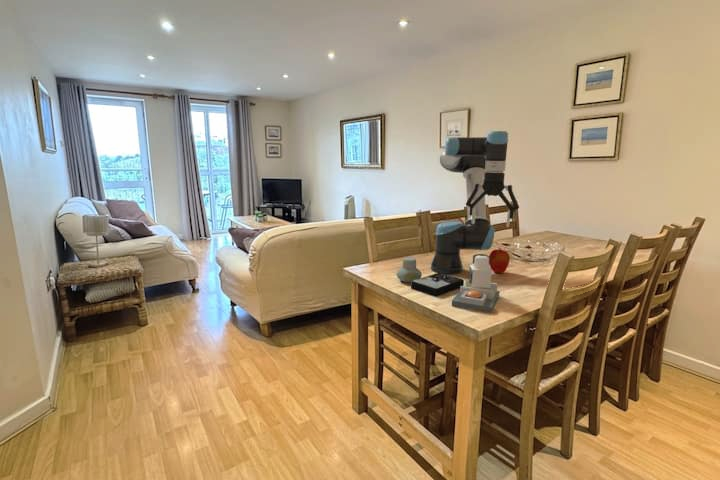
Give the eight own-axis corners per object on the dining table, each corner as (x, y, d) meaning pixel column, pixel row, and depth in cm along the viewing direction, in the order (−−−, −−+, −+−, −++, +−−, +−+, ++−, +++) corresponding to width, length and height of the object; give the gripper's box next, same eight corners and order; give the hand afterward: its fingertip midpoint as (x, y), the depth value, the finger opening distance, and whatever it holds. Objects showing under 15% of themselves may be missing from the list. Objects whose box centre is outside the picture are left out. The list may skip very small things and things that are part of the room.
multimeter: (464, 287, 159) (464, 276, 158) (435, 298, 146) (436, 285, 145) (438, 280, 169) (439, 269, 168) (410, 289, 156) (410, 277, 155)
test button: (465, 298, 136) (465, 293, 136) (468, 294, 140) (468, 289, 140) (479, 301, 134) (480, 295, 133) (482, 296, 138) (482, 291, 138)
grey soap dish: (451, 305, 137) (452, 292, 136) (463, 290, 154) (464, 278, 153) (491, 312, 131) (492, 299, 130) (499, 296, 148) (500, 284, 147)
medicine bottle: (468, 281, 149) (470, 252, 146) (487, 282, 148) (489, 253, 145) (471, 287, 142) (473, 257, 140) (490, 288, 141) (493, 257, 139)
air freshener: (399, 284, 161) (400, 261, 159) (394, 278, 169) (395, 257, 167) (423, 283, 163) (424, 260, 161) (417, 277, 171) (418, 256, 169)
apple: (486, 273, 177) (488, 249, 174) (488, 269, 185) (490, 245, 182) (507, 276, 173) (510, 251, 171) (509, 271, 181) (511, 247, 179)
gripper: (460, 171, 150) (457, 223, 155) (528, 173, 138) (522, 229, 143) (465, 170, 157) (461, 220, 162) (530, 172, 145) (524, 226, 150)
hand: (490, 225), depth 153 cm, fingers open, 13 cm apart
